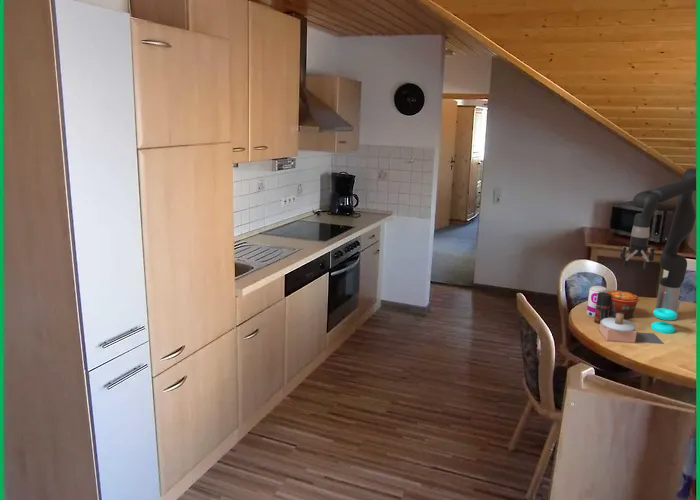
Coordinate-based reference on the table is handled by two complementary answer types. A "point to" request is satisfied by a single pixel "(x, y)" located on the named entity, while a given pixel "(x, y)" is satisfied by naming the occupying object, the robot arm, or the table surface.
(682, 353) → the table surface
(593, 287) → the supplement can
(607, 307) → the deodorant
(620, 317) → the lid
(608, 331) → the dish
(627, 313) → the food container
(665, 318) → the donuts
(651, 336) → the mat
